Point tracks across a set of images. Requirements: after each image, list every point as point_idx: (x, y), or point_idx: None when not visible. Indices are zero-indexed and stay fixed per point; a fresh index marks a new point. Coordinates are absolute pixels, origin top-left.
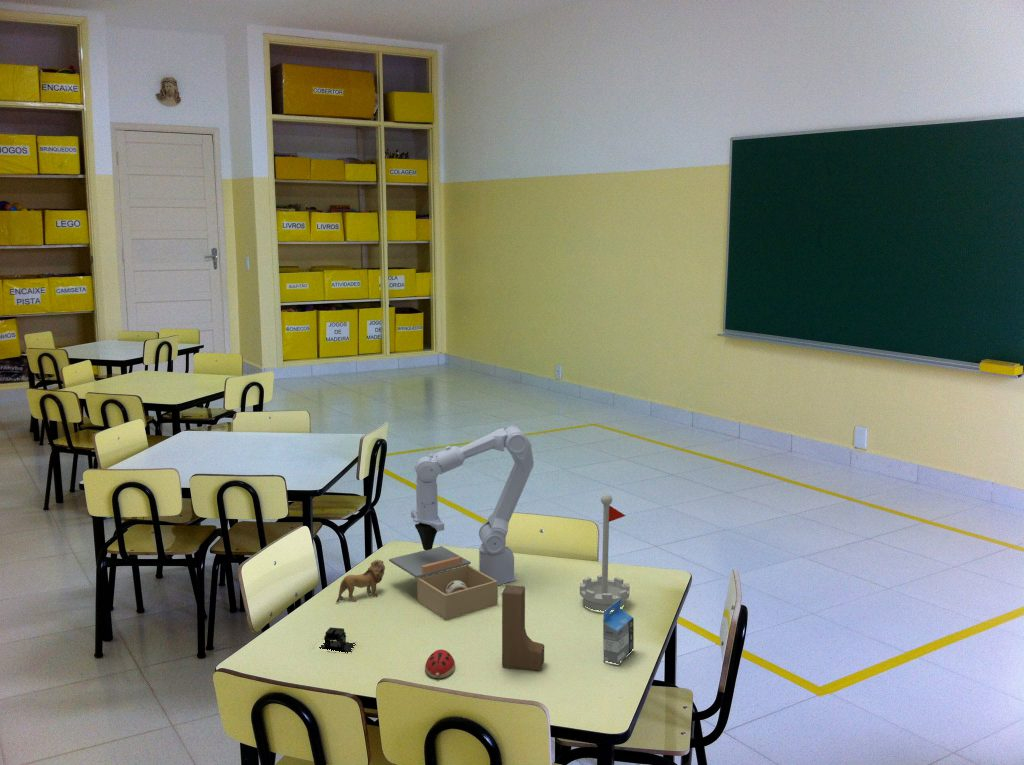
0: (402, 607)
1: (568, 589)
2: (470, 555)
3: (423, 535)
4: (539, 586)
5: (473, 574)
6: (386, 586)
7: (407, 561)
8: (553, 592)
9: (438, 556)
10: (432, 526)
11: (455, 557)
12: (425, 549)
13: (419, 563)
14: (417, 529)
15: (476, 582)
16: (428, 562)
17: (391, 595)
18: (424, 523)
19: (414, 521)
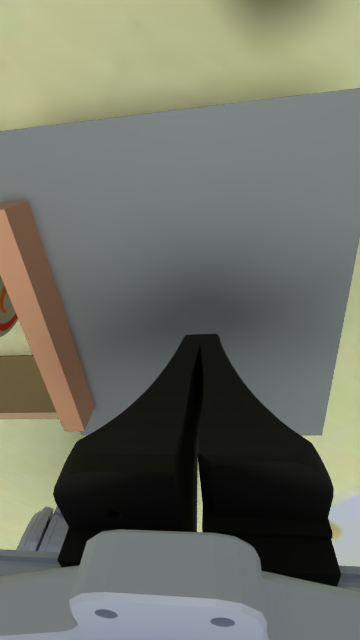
0: (18, 31)
1: (17, 499)
2: (339, 464)
3: (152, 404)
4: (52, 474)
5: (48, 397)
6: (309, 70)
7: (244, 198)
8: (10, 477)
9: None
10: (42, 558)
11: (73, 411)
12: (184, 336)
13: (170, 251)
14: (258, 427)
15: (41, 380)
16: (158, 300)
17: (185, 41)
18: (19, 574)
19: (161, 541)
